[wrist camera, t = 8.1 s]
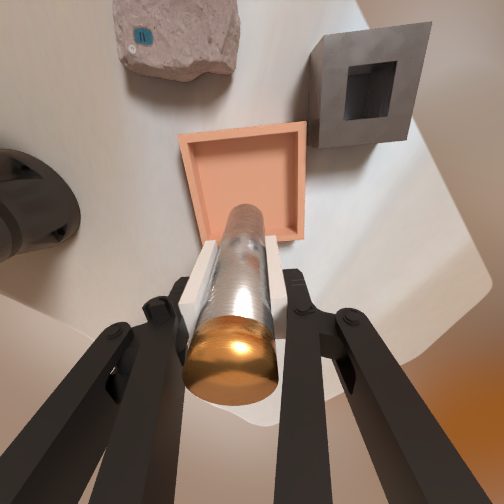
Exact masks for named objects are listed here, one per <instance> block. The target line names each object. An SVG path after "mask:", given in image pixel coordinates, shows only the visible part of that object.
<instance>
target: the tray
mask: <svg viewBox="0 0 504 504" xmlns="http://www.w3.org/2000/svg"><path fill="white" fill-rule="evenodd" d="M306 128H307V121H301V122H292V123H282V124H273V125H264V126H254V127H245V128H236V129H226V130H217V131H208V132H199V133H189V134H180V135H177V136H178V140H179V145H180V149H181V153H182V158H183V162H184V167H185V171H186V175H187V180H188V184H189V189H190V193H191V197H192V202H193V206H194V210H195V215H196V219H197V224H198V228H199V232H200V237H201V241H202V245H203V246H204V243H205V241H209V240H216V243H217V246H220V243H221V239H222V236H223V233H224V229H225V226H226V223H227V219H228V216H229V213H230V212H231V210H232V209H233V208H234V207H236V206H238V205H240V204H251V205H254V206H256V207H257V208H258V209H259V210H260V211H261V212H262V214H263V217H264V226H265V236H272V235H276V239H277V242H278V241H291V240H304V216H305V172H306Z"/></svg>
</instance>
